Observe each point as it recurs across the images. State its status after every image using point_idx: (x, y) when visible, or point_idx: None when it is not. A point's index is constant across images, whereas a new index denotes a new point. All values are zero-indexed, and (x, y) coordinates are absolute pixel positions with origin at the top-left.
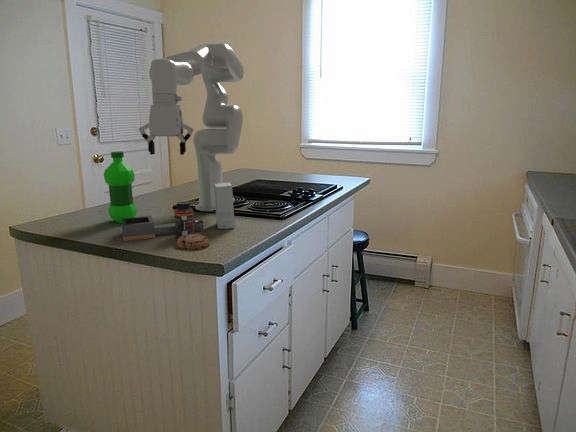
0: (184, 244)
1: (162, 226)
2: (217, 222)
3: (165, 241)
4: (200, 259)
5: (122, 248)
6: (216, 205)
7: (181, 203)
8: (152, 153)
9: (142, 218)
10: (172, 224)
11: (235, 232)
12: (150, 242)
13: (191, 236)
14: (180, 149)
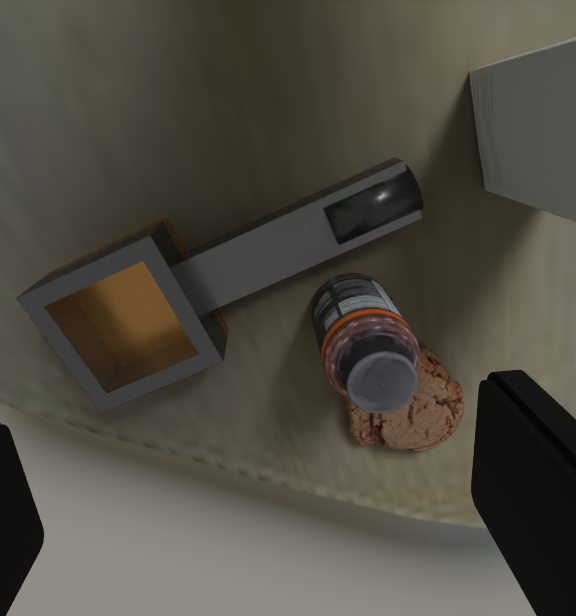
0: (380, 437)
1: (237, 281)
2: (490, 162)
3: (287, 368)
4: (444, 509)
5: (164, 446)
6: (539, 183)
7: (378, 408)
8: (40, 549)
9: (120, 270)
10: (273, 243)
11: (561, 232)
12: (234, 382)
13: (403, 410)
14: (517, 565)
